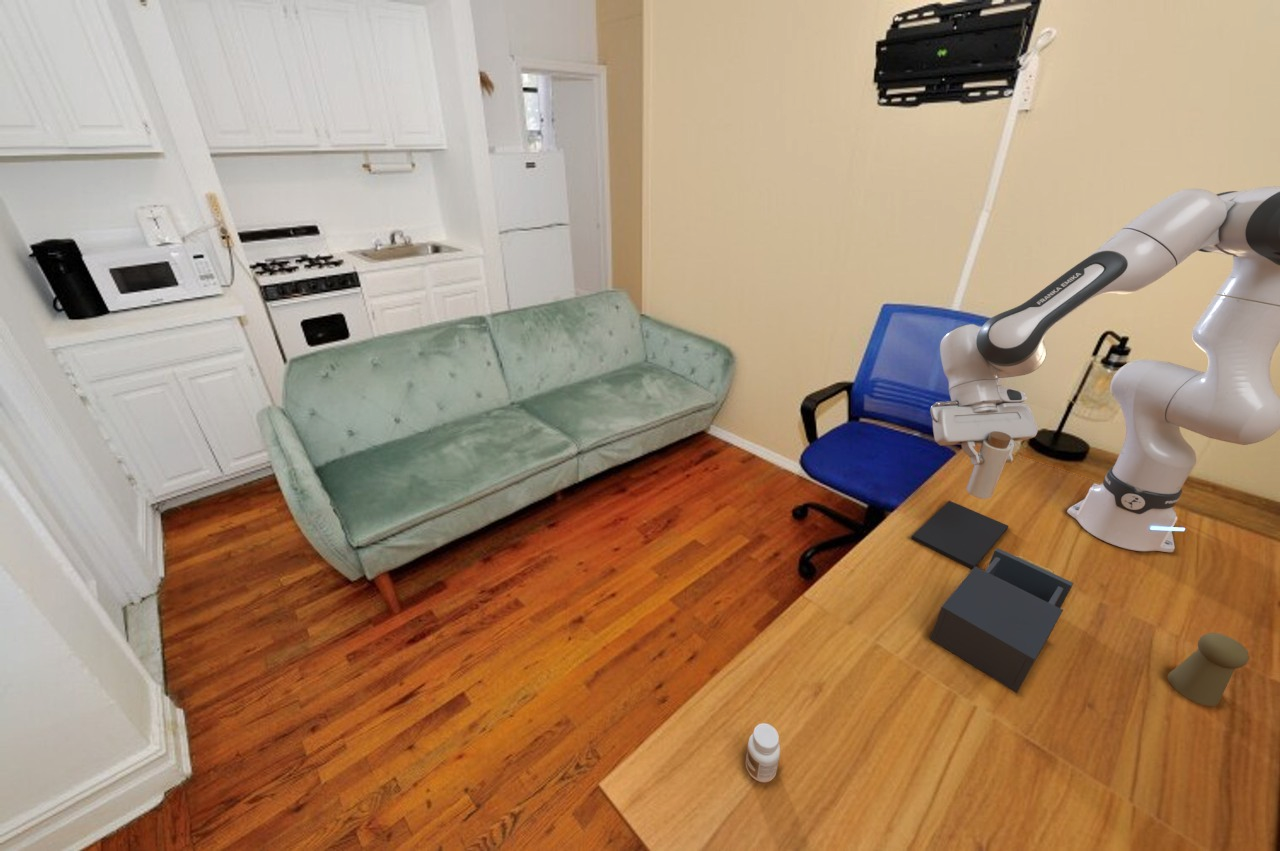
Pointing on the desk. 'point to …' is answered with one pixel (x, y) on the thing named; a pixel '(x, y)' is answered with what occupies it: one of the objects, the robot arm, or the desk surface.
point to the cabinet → (995, 627)
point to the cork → (1208, 669)
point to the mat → (960, 534)
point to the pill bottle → (763, 753)
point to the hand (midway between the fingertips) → (993, 463)
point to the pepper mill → (989, 465)
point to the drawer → (1029, 577)
